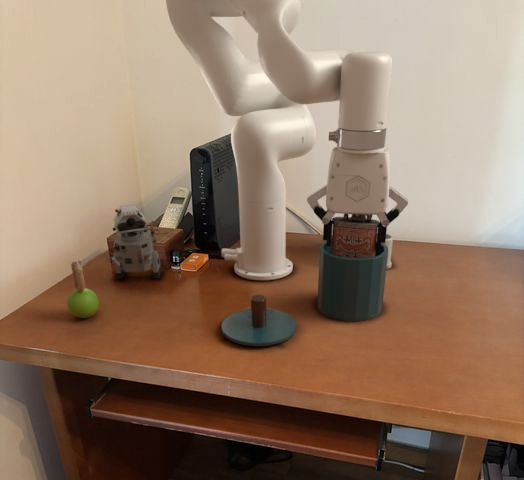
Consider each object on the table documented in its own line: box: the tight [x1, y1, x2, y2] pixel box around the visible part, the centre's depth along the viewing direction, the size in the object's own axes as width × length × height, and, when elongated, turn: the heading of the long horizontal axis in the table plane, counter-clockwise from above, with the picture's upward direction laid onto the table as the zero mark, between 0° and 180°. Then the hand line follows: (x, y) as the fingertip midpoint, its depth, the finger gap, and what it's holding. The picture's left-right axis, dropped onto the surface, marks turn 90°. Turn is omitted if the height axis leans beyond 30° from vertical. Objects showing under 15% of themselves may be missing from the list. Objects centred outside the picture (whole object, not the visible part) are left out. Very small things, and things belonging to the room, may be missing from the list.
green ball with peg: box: [66, 259, 100, 319], centre depth 97 cm, size 5×6×12 cm
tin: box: [317, 240, 388, 322], centre depth 99 cm, size 12×12×12 cm
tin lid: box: [221, 294, 297, 347], centre depth 93 cm, size 13×13×6 cm
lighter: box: [331, 213, 380, 259], centre depth 95 cm, size 8×3×10 cm, turn 71°
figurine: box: [111, 204, 163, 280], centre depth 111 cm, size 9×12×15 cm
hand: (353, 244), depth 96 cm, fingers closed on lighter, 8 cm apart
